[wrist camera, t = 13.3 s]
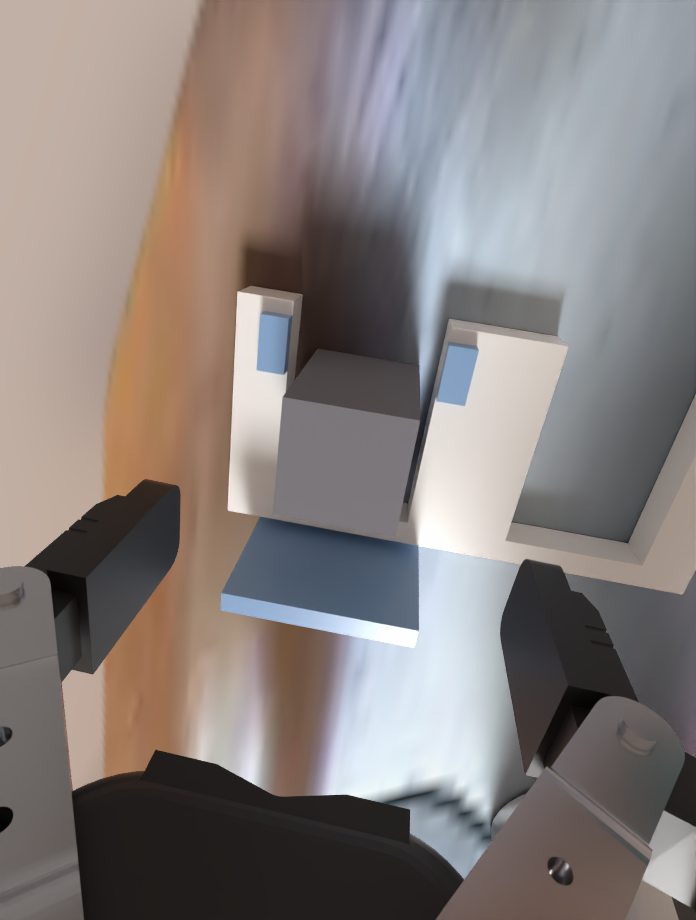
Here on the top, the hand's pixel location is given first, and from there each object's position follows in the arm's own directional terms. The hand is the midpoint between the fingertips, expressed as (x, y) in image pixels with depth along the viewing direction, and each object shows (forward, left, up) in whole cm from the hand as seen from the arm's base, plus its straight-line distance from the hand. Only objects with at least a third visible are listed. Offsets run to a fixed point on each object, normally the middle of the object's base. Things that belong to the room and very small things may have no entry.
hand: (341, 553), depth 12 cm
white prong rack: (-4, +1, -10) cm, 11 cm away
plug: (+1, 0, -10) cm, 10 cm away
